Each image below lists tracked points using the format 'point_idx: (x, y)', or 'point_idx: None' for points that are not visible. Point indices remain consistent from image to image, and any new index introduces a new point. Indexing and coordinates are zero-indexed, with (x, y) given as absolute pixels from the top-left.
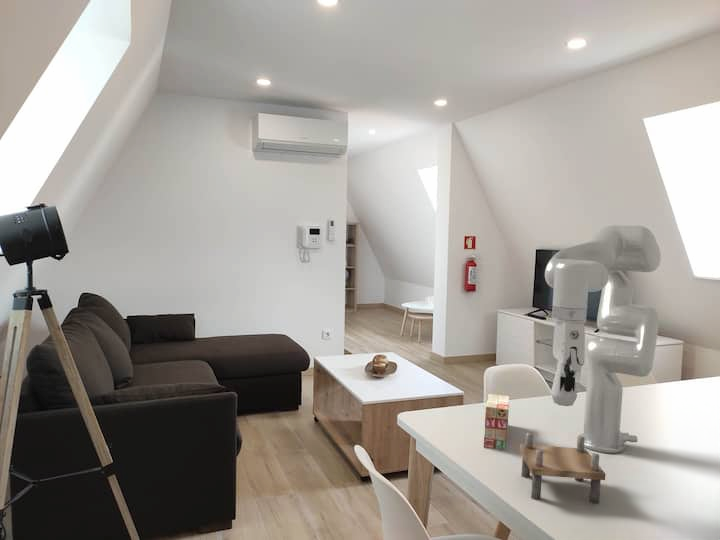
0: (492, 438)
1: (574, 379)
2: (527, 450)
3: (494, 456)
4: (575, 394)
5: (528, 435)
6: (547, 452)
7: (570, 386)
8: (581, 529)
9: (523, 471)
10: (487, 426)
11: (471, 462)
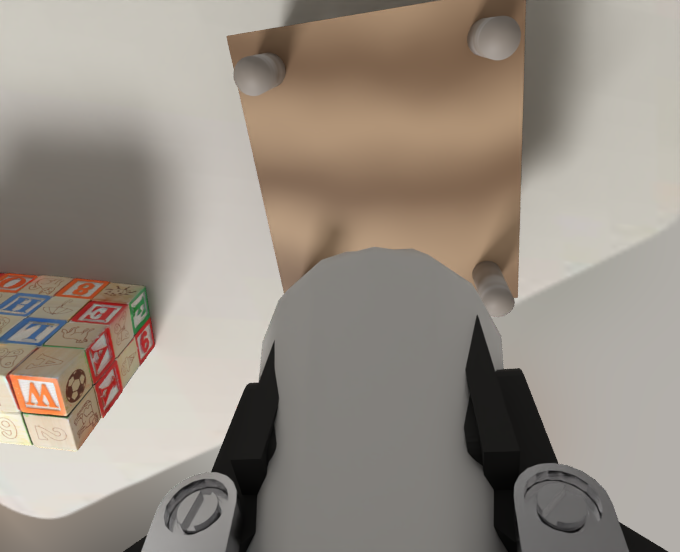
0: (135, 344)
1: (513, 435)
2: None
3: (209, 321)
4: (455, 288)
5: None
6: (339, 223)
7: (533, 412)
8: (669, 114)
9: None
10: (118, 386)
11: None
